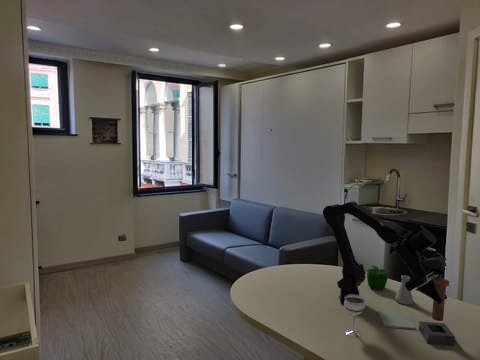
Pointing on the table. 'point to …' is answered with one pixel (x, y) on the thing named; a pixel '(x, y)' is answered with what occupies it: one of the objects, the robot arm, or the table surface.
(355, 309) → the wineglass
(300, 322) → the table surface
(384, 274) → the bell pepper
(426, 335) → the eye block
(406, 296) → the flask
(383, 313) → the green pad
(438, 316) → the walnut peg
